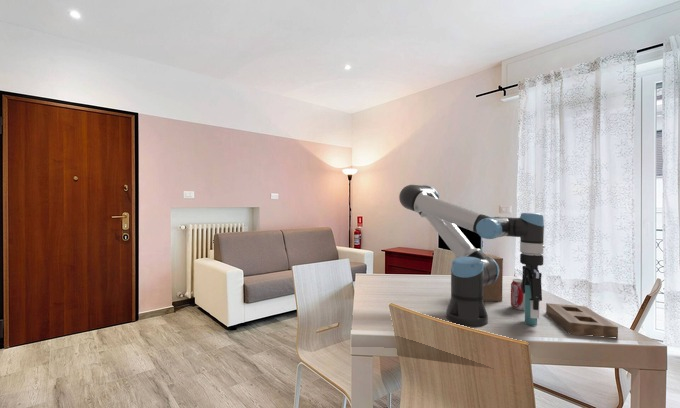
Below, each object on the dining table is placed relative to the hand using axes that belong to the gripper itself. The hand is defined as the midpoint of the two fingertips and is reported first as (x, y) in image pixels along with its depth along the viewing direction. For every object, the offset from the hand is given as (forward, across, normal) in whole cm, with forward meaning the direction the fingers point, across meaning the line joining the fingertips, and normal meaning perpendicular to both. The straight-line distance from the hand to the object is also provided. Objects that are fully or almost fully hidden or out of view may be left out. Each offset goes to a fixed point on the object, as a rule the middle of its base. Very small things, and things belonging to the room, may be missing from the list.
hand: (531, 314), depth 118 cm
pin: (+4, 0, 0) cm, 4 cm away
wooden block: (+4, +30, +10) cm, 32 cm away
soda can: (+4, +18, -1) cm, 18 cm away
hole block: (+4, +4, -17) cm, 18 cm away
